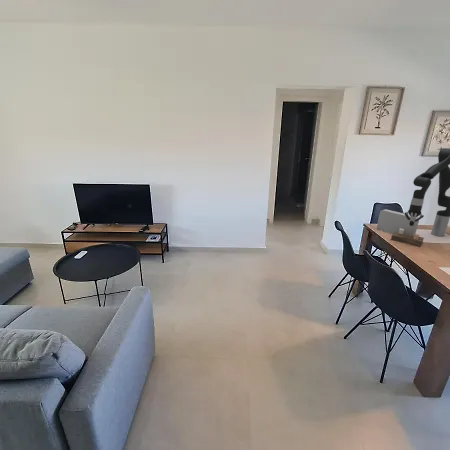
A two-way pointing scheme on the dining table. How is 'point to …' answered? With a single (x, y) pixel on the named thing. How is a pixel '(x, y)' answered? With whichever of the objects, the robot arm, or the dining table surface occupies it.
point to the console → (407, 239)
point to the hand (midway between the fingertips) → (411, 225)
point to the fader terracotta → (416, 236)
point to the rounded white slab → (395, 222)
